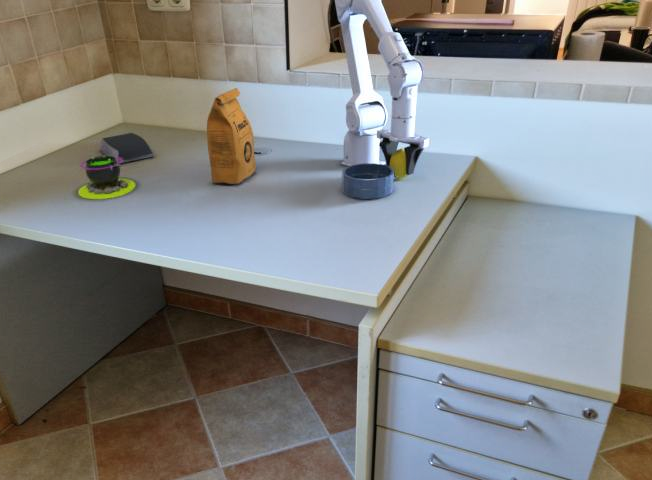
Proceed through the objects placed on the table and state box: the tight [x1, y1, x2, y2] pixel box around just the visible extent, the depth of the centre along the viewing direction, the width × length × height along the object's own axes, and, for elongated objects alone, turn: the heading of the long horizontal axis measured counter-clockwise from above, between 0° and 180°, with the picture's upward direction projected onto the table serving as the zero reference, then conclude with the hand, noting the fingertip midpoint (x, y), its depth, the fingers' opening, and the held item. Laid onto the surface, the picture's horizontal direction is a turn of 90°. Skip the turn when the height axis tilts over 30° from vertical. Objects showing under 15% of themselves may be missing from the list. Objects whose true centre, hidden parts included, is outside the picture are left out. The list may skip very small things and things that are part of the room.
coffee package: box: [206, 87, 257, 185], centre depth 154 cm, size 10×12×22 cm
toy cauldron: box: [77, 144, 137, 200], centre depth 156 cm, size 15×15×11 cm
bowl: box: [341, 163, 395, 200], centre depth 146 cm, size 12×12×5 cm
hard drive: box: [99, 132, 155, 164], centre depth 184 cm, size 13×19×4 cm
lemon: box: [389, 147, 408, 181], centre depth 151 cm, size 6×6×8 cm
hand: (400, 171), depth 152 cm, fingers closed on lemon, 5 cm apart
